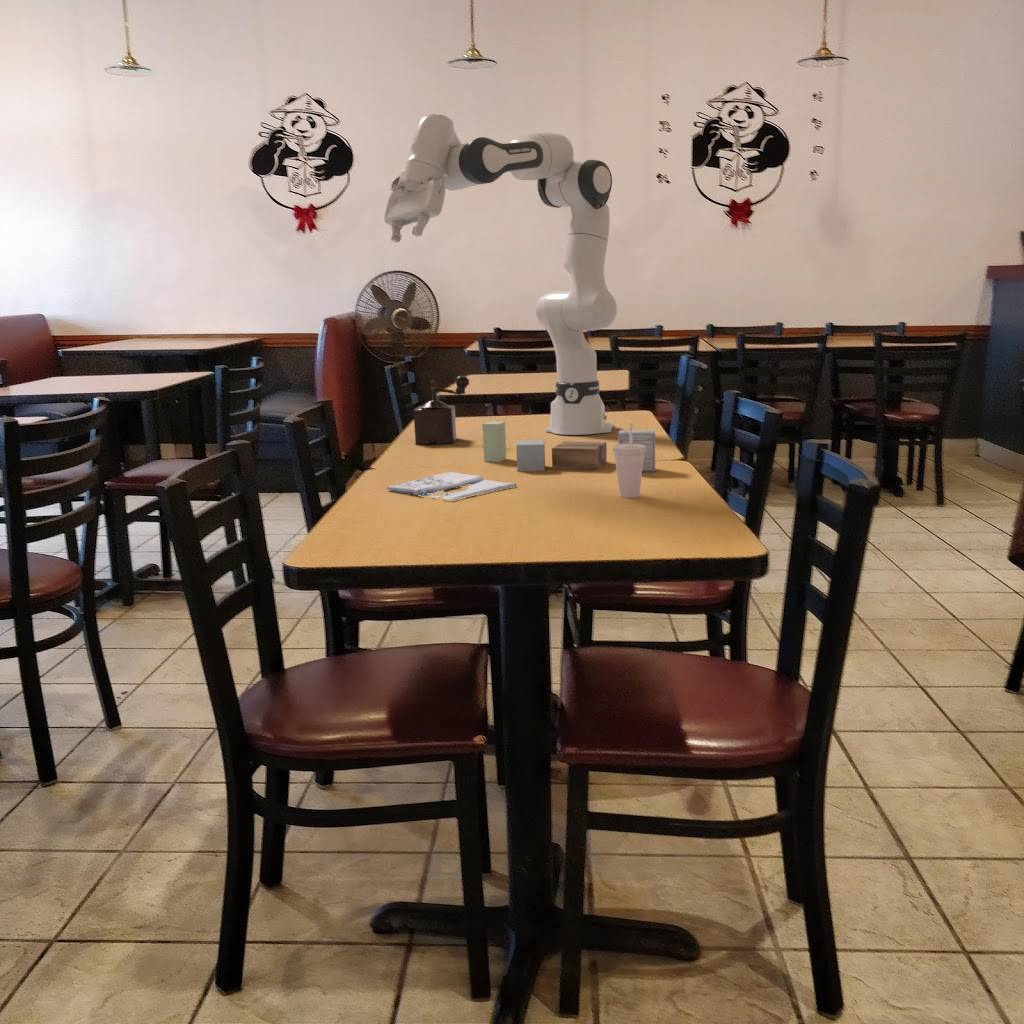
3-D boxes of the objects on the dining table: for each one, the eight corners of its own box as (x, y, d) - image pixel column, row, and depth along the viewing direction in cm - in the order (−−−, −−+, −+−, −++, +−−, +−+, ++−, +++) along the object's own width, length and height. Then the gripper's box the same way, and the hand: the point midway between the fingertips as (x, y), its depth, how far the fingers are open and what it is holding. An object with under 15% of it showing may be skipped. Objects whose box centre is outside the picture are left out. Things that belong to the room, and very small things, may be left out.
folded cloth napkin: (454, 478, 210) (454, 469, 209) (519, 490, 196) (519, 479, 195) (385, 493, 197) (384, 483, 197) (449, 506, 183) (448, 495, 182)
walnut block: (565, 462, 224) (564, 441, 222) (606, 463, 220) (606, 442, 219) (552, 470, 214) (551, 448, 213) (595, 471, 211) (595, 449, 210)
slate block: (519, 466, 219) (518, 440, 218) (545, 466, 219) (544, 440, 217) (517, 471, 213) (516, 445, 212) (544, 471, 213) (543, 444, 211)
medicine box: (654, 468, 211) (654, 429, 209) (655, 472, 206) (655, 432, 204) (618, 469, 212) (618, 430, 210) (618, 472, 207) (618, 433, 205)
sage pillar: (490, 458, 231) (489, 421, 229) (506, 458, 229) (504, 421, 227) (484, 461, 227) (482, 424, 225) (499, 462, 225) (498, 424, 223)
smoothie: (625, 500, 180) (624, 427, 176) (606, 495, 185) (605, 423, 182) (653, 496, 182) (653, 423, 179) (633, 491, 188) (633, 420, 185)
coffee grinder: (413, 445, 255) (409, 377, 251) (420, 439, 266) (416, 374, 262) (471, 444, 254) (468, 376, 250) (475, 437, 265) (472, 372, 261)
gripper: (457, 179, 215) (441, 237, 213) (409, 196, 231) (394, 249, 229) (434, 166, 211) (418, 225, 209) (387, 184, 227) (372, 238, 226)
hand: (405, 238), depth 220 cm, fingers open, 8 cm apart
